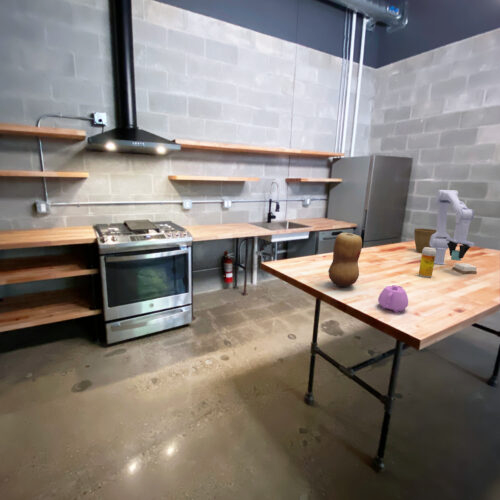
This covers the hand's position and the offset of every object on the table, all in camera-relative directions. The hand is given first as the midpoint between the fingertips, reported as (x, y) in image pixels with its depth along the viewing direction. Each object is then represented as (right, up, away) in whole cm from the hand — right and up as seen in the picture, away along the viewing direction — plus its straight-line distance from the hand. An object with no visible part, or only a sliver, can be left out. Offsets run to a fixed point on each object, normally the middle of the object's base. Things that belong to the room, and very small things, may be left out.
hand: (456, 256), depth 160 cm
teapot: (-55, -19, -43) cm, 73 cm away
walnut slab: (+8, -9, +6) cm, 13 cm away
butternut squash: (-68, -13, -21) cm, 72 cm away
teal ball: (0, -1, 0) cm, 1 cm away
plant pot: (+10, +2, +49) cm, 50 cm away
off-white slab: (+8, -7, +5) cm, 12 cm away
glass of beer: (-19, -10, -3) cm, 22 cm away
